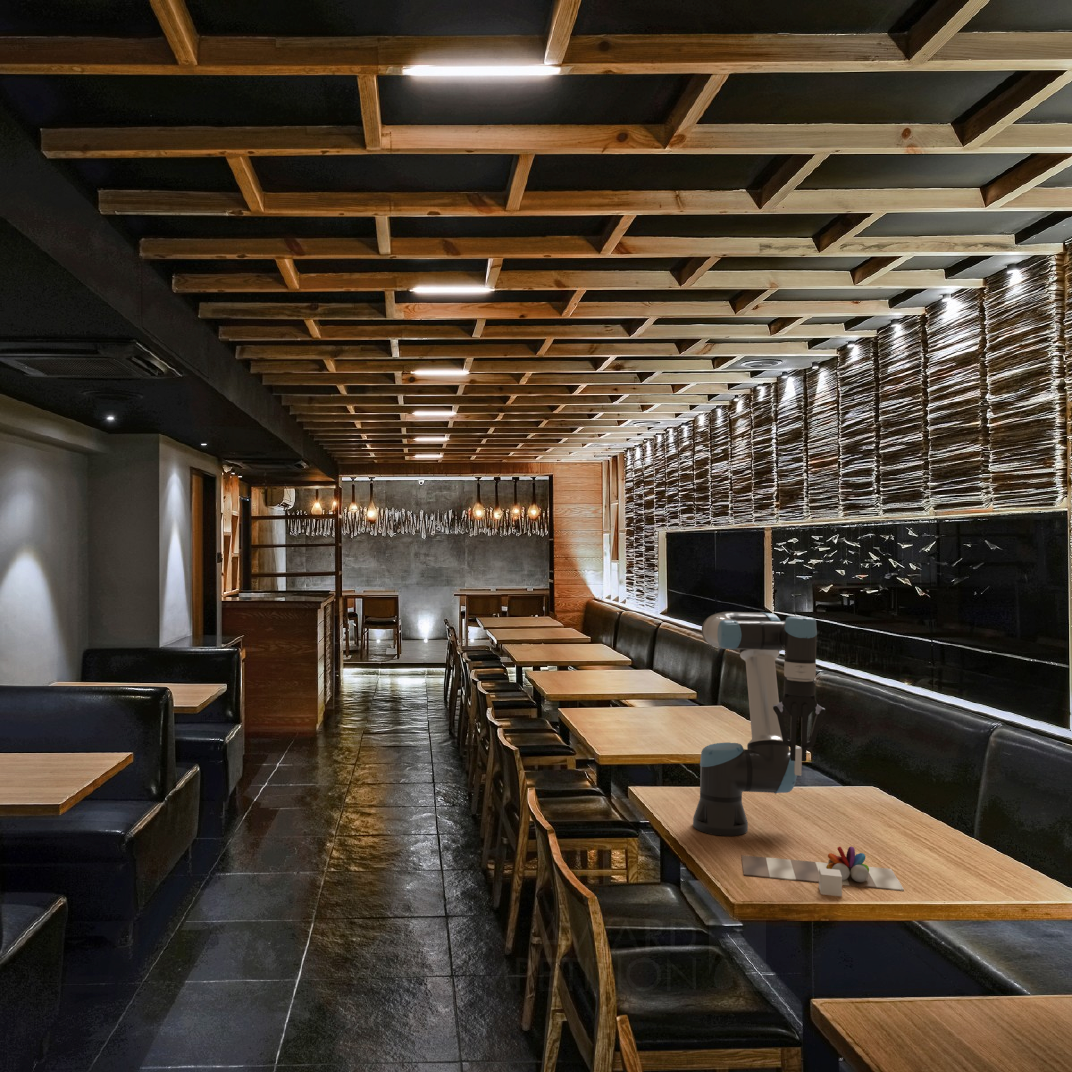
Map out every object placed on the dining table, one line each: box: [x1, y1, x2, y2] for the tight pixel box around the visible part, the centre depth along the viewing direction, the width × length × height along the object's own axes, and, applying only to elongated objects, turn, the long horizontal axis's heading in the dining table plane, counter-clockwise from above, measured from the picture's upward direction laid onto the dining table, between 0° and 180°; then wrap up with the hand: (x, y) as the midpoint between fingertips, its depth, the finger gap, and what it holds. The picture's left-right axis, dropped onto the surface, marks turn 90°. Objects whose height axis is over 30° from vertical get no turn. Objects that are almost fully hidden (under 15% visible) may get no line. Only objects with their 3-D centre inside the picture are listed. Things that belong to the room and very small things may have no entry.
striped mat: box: [741, 854, 905, 892], centre depth 207 cm, size 36×14×1 cm, turn 79°
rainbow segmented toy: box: [826, 846, 870, 882], centre depth 204 cm, size 8×10×7 cm
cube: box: [818, 868, 843, 897], centre depth 195 cm, size 4×4×4 cm
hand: (797, 774), depth 212 cm, fingers closed
